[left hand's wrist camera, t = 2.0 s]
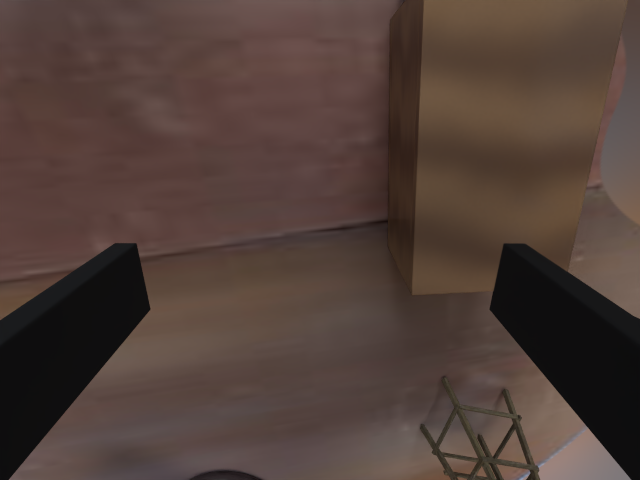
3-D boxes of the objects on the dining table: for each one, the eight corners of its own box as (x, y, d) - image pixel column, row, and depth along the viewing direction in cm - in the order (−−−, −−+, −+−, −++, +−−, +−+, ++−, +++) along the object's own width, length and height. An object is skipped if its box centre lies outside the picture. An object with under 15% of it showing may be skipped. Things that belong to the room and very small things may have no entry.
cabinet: (389, 19, 27) (424, -25, 18) (531, 9, 27) (637, -40, 18) (387, 246, 34) (411, 295, 25) (499, 240, 34) (564, 287, 25)
